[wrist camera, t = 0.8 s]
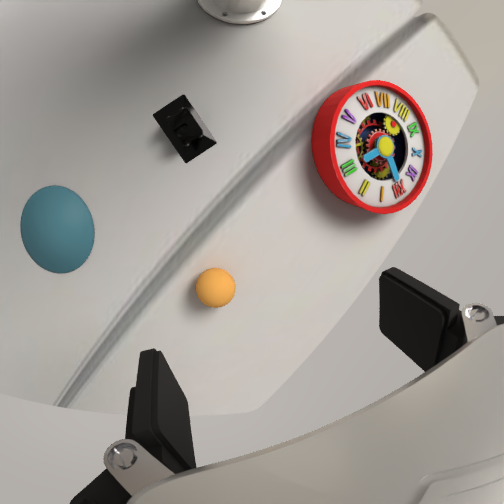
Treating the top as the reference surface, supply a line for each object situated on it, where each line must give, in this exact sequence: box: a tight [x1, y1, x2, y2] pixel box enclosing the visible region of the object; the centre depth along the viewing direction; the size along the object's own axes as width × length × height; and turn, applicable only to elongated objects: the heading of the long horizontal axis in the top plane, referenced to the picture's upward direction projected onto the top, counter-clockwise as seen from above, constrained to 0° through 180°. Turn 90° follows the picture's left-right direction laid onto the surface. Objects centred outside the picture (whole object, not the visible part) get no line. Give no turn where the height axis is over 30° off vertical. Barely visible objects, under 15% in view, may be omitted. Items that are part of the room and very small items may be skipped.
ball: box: [196, 268, 235, 308], centre depth 40 cm, size 6×6×6 cm
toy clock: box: [312, 80, 432, 214], centre depth 39 cm, size 20×6×20 cm
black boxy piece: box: [153, 95, 217, 163], centre depth 33 cm, size 12×7×5 cm, turn 32°
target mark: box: [21, 186, 94, 273], centre depth 34 cm, size 13×13×1 cm
